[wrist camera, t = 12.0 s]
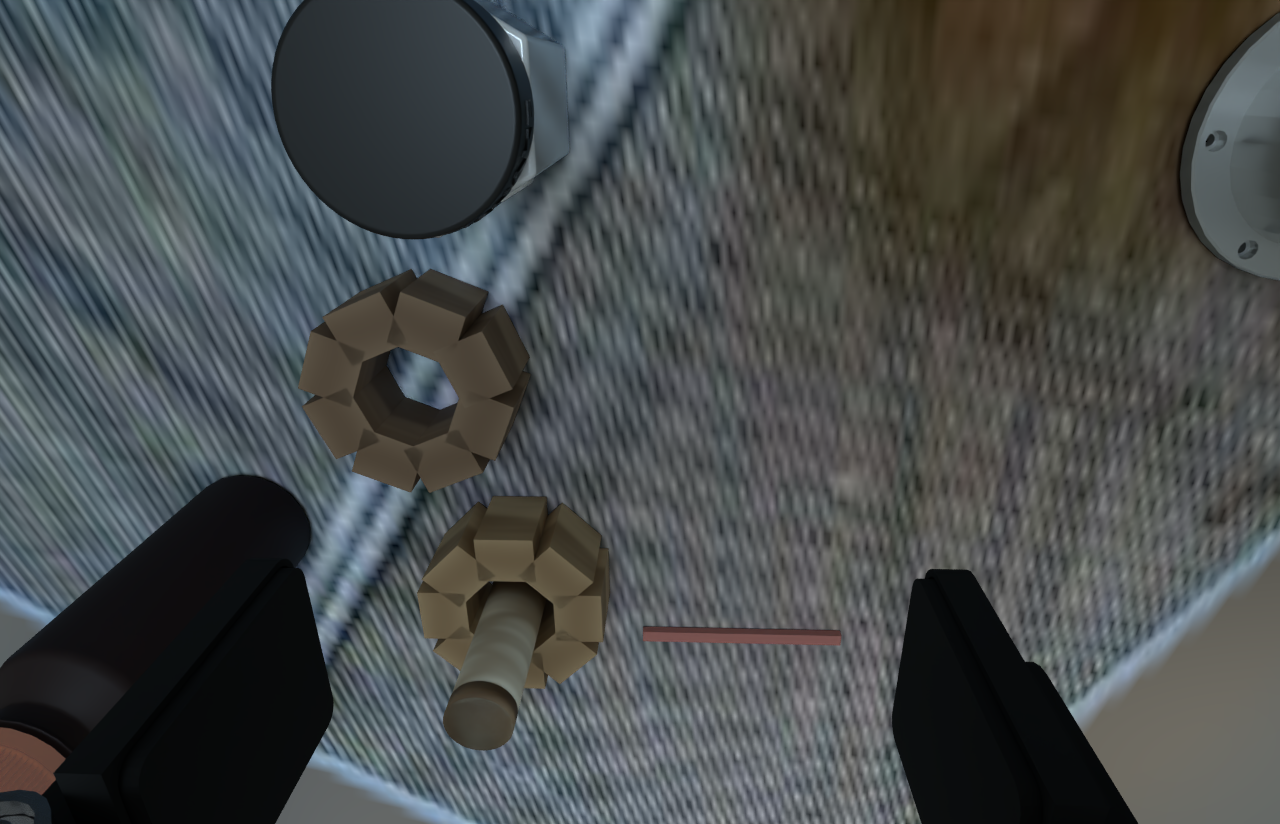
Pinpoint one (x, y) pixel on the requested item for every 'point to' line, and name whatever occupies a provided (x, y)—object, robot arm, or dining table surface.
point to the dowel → (495, 668)
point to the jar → (417, 109)
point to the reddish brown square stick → (742, 635)
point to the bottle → (133, 621)
